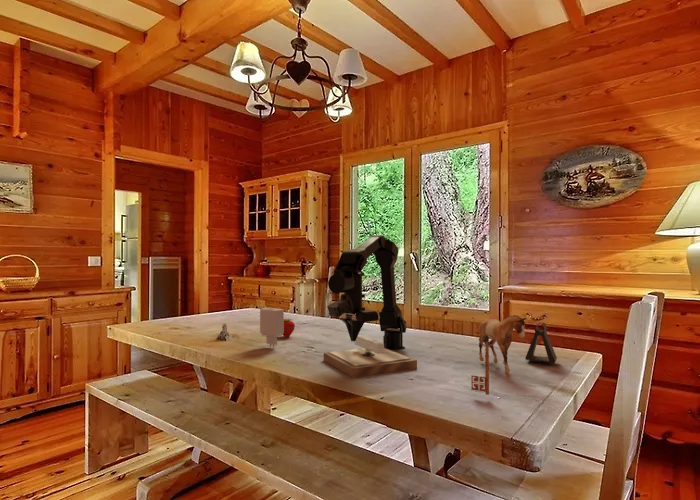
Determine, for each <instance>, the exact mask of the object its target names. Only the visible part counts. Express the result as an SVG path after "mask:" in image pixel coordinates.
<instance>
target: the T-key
mask: <svg viewBox="0 0 700 500" xmlns="http://www.w3.org/2000/svg"><path fill="white" fill-rule="evenodd" d="M353 342H354V345H356V346H358V347H360V348H365V354H372V352H375V353H377V354H383V353H384V343H383V342H381V341H378V340H376V339H373V338H370V337H368V336H365V335H362V334H358V336H357V338H356V341H353Z"/></svg>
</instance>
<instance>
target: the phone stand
mask: <svg viewBox="0 0 700 500" xmlns="http://www.w3.org/2000/svg"><path fill="white" fill-rule="evenodd" d="M539 325H540V326H541V327H542V328H543V330H541V329H540V328H539ZM547 328H548V327H547V323H545V322H543V321H542V323H541V322H537V324H536V325H535V326H534V335H533V337H532V340H531V342H530V344H529V345H530V346H529V348H528V350H527V353H526V355H525V357H524V360H526V361H534V362H543V363H551V364H555V363H556V362H557V359H558V356H557V355H556V352H555V349H554V347H553V345H552V342H551V339H550V337H549V334H548V331H547ZM539 337H541V338H542V341H543V346H544V349H545V352H546V355H547V356H541V355H535V351H536V348H537V346H538V341H539Z"/></svg>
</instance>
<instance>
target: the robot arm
mask: <svg viewBox="0 0 700 500" xmlns="http://www.w3.org/2000/svg"><path fill="white" fill-rule="evenodd" d="M398 254H399V248H398V246H397V245H396V243H395V242H394V241H392V240H390V239H388V238H386V237H385V236H384V235H382V234H378V235H377V234H372V235H370V236H368V239H366V240H365V241H363V242H362V243H361V244H360V245H358V246H357V247H355V248H351V249H347V250H344V251H342V253H341V255H340V257H339V259H338V262H337V264H336V268H335V269H334V270H333V274H332V275H331V276H330V277H329V279H328V280H327V285H328V286H327V287H328V289H329V290H330V291H331V293H332V294H340V298H339V300H335V301H334V302H332V303H330V304H328V305H327V306H326V308H327V310H328V314H329V317H335V318H339V320H340V321H341V322H342V323H344V324H345V327H346V329H347V332H348V335H349V339H350V341H351V342H354V341H356V338H357V336H358V335H360V332H361V330H362V327H363V326H364V324H365V323H368V322H369V323H370V322H375V321H379V322H378V323H379V327H380V332H383V334H384V335H383V338H382V341H383V342H382V343H384V348H387V349H389V350H392V351H394V350H401V349H406V346H403V345H404V344H403V343H404V341H403V340H404V338H403V337H404V336H403V334H404V333H406V332H407V324H406V321H405V319H404V317H403V314H402V310H401V309H400V307H399V306H398V304H397V292H396V280H395V278H396V277H395V265H396V263H397V261H398ZM372 255H374V258H375V263H377V265H378V266H379V268H380V277H381V289H382V301H383V302H382V303H383V307H382V308H381V311H379V312H377V310H372V309H367V310H366V307H364V306H363V299H365V298H366V294H364V293H363V277H365V273H364V271H363V269H364V268H365V266H367V264H368V258H369V257H371V256H372Z"/></svg>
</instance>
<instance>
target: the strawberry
mask: <svg viewBox="0 0 700 500" xmlns="http://www.w3.org/2000/svg"><path fill="white" fill-rule="evenodd" d="M284 317H285V318H284V333H283V335H282V336H283V337H284V338H290V337H291V335H292V334H293V332H294V330H295V327H296V325H295V323H294V322H293V321H292V320H293V319H291V318H287V317H286V315H284Z"/></svg>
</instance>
